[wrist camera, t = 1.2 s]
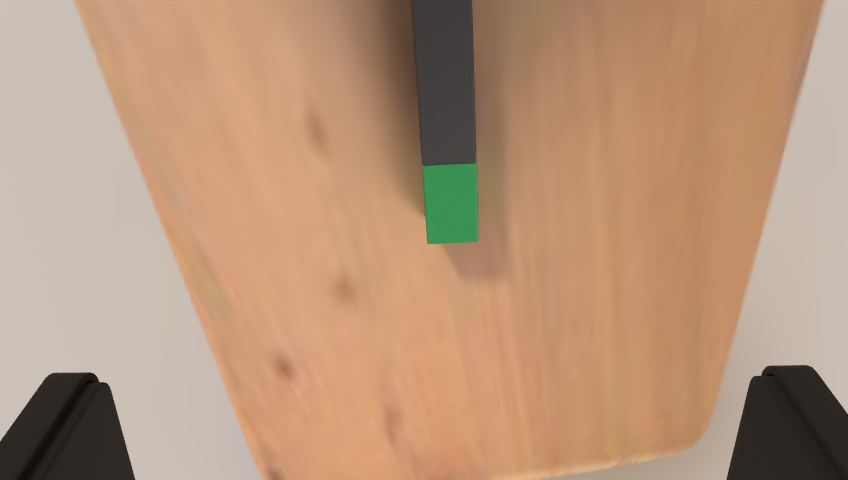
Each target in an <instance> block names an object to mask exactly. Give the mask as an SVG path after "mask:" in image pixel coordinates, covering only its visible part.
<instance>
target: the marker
mask: <svg viewBox="0 0 848 480" xmlns="http://www.w3.org/2000/svg"><path fill="white" fill-rule="evenodd" d="M412 15H413V31H414V46H415V61H416V77H417V92H418V107H419V123H420V138H421V153H422V169H423V184H424V199H425V215H426V230H427V243H428V244H440V243H462V242H478V240H479V236H478V199H477V164H476V126H475V89H474V52H473V16H472V0H412Z"/></svg>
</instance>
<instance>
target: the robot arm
mask: <svg viewBox="0 0 848 480" xmlns="http://www.w3.org/2000/svg"><path fill="white" fill-rule="evenodd" d="M0 480H135V477H134V474H133V470H132V466H131V462H130V459H129V455H128V451H127V448H126V444H125V440H124V437H123V433H122V430H121V426H120V422H119V418H118V415H117V411H116V407H115V404H114V400H113V396H112V393H111V389H110V387H109V385H108V384H107V383H104V382H99V380H98V378H97V376H96V375H95V374H93V373H52V374H50V375H48V377H46V379H45V380H44V381H43V383H42V384H41V385H40V387H39V388H38V390H37V391H36V392H35V394H34V395H33V396H32V398H31V399H30V401H29V402H28V403H27V405H26V406H25V408H24V409H23V410H22V412H21V413H20V415H19V416H18V417H17V419H16V420H15V422H14V423H13V424H12V426H11V427H10V429H9V430H8V431H7V433H6V434H5V436H4V437H3V438H2V440H1V441H0ZM727 480H848V414H847V413H846V411H845V410H844V409H843V407H842V406H841V404H840V403H839V402H838V400H837V399H836V398H835V396H834V395H833V394H832V392H831V391H830V390H829V388H828V387H827V385H826V384H825V383H824V381H823V380H822V379H821V377H820V376H819V375H818V374H817V372H816V371H815V370H814V369H813V368H812V367H810V366H807V365H800V366H799V365H793V366H768V367H766V368H765V369H764V370H763V372H762V375H761V376H754V377H753V378H752V379H751V381H750V384H749V388H748V392H747V397H746V400H745V405H744V409H743V413H742V417H741V421H740V425H739V430H738V434H737V438H736V442H735V446H734V450H733V455H732V459H731V463H730V467H729V471H728V476H727Z"/></svg>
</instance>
